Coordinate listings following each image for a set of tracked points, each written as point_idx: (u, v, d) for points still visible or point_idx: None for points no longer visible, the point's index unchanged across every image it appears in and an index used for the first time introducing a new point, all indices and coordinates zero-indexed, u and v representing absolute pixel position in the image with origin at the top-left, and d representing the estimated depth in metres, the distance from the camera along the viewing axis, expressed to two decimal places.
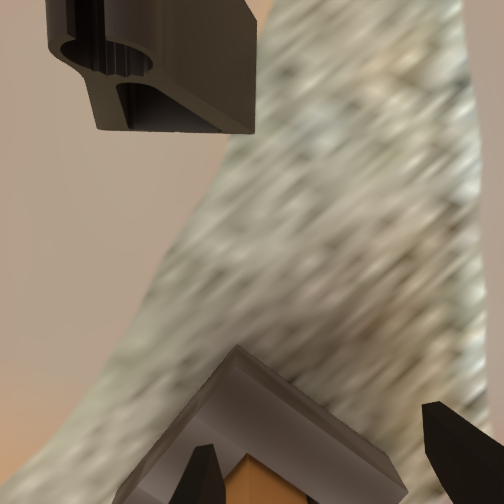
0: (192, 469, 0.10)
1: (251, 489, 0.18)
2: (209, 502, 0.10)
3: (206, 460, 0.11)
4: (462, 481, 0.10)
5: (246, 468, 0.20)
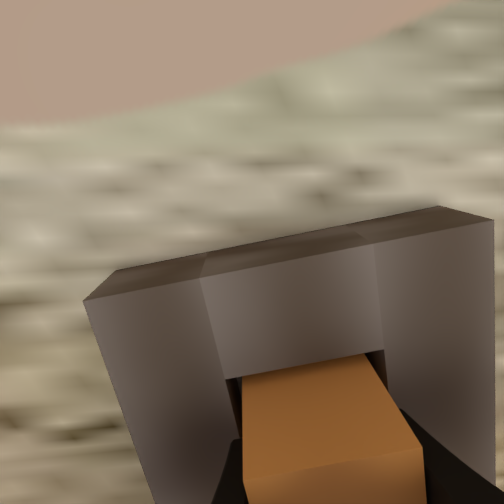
0: (234, 461, 0.10)
1: (393, 403, 0.10)
2: None
3: None
4: None
5: (367, 368, 0.12)
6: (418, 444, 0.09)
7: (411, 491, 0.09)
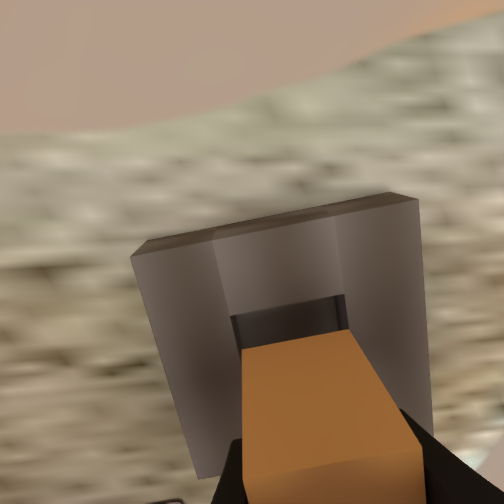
0: (234, 461, 0.10)
1: (392, 403, 0.10)
2: None
3: None
4: None
5: (367, 368, 0.12)
6: (417, 443, 0.09)
7: (411, 490, 0.09)
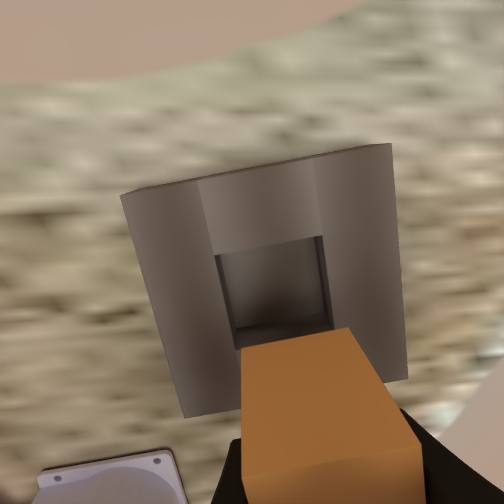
0: (234, 461, 0.10)
1: (392, 401, 0.10)
2: None
3: None
4: None
5: (366, 366, 0.12)
6: (417, 441, 0.09)
7: (410, 488, 0.09)
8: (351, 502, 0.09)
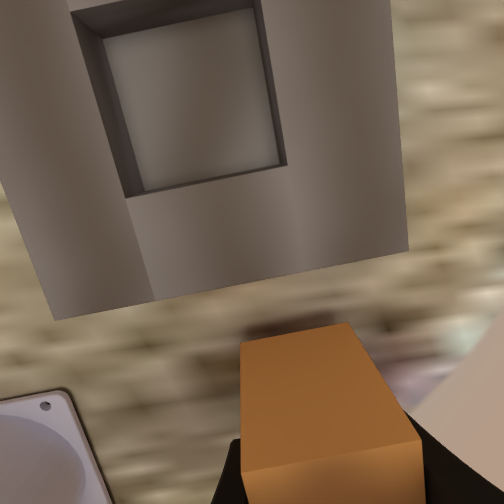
0: (234, 461, 0.10)
1: (392, 396, 0.10)
2: None
3: None
4: None
5: (366, 361, 0.12)
6: (417, 436, 0.09)
7: (410, 483, 0.09)
8: (350, 497, 0.09)
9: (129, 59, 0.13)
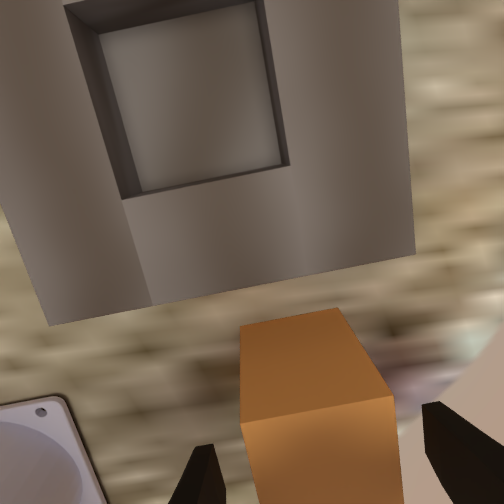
0: (192, 469, 0.10)
1: (372, 364, 0.12)
2: (209, 502, 0.10)
3: (206, 460, 0.11)
4: (462, 481, 0.10)
5: (351, 338, 0.13)
6: (390, 393, 0.10)
7: (385, 435, 0.10)
8: (334, 447, 0.10)
9: (126, 55, 0.12)
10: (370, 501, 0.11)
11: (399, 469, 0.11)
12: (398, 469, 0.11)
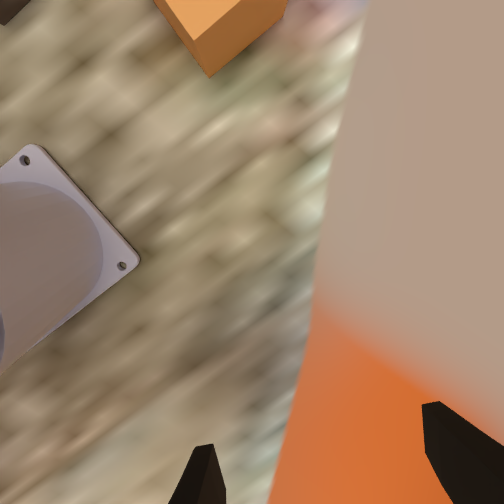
0: (192, 469, 0.10)
1: None
2: (209, 502, 0.10)
3: (206, 460, 0.11)
4: (462, 481, 0.10)
5: None
6: None
7: None
8: None
9: None
10: None
11: None
12: None
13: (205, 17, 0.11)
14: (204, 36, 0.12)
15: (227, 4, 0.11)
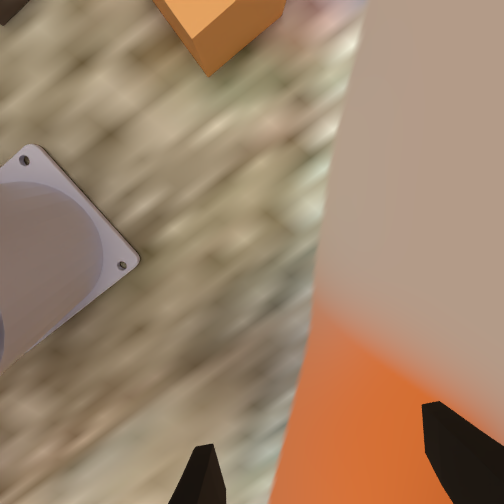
0: (192, 469, 0.10)
1: None
2: (209, 502, 0.10)
3: (206, 460, 0.11)
4: (462, 481, 0.10)
5: None
6: None
7: None
8: None
9: None
10: None
11: None
12: None
13: (203, 15, 0.11)
14: (202, 34, 0.12)
15: (225, 2, 0.11)
